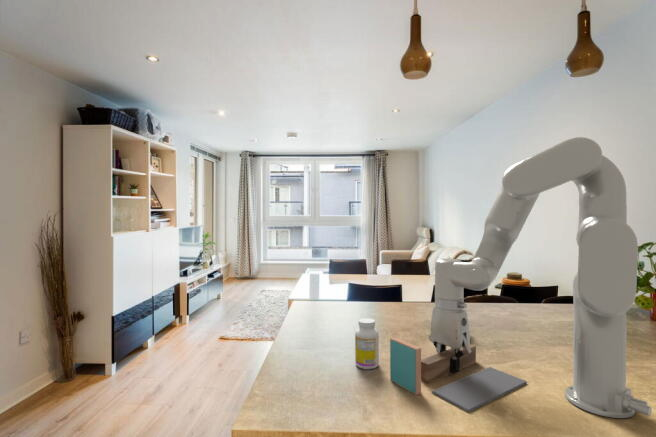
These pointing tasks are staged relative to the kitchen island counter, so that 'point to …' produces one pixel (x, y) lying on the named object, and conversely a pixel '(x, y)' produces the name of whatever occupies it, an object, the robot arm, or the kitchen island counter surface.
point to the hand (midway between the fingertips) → (448, 368)
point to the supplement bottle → (366, 344)
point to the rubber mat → (479, 388)
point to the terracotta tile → (405, 365)
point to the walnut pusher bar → (443, 364)
